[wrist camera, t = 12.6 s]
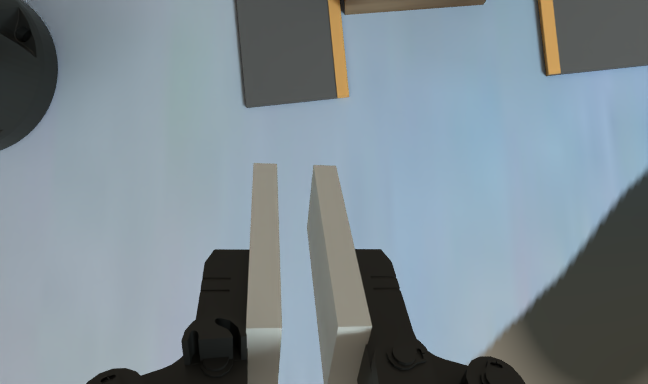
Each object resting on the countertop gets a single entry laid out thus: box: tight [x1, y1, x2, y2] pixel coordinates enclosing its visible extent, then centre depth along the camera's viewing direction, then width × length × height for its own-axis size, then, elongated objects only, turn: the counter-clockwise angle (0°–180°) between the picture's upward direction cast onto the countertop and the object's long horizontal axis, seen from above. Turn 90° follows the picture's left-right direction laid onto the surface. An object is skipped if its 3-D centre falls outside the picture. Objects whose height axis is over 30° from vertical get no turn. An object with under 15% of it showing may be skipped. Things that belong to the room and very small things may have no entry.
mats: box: [236, 0, 648, 108], centre depth 39 cm, size 12×35×1 cm, turn 96°
